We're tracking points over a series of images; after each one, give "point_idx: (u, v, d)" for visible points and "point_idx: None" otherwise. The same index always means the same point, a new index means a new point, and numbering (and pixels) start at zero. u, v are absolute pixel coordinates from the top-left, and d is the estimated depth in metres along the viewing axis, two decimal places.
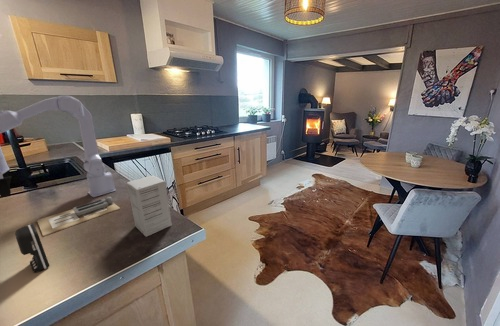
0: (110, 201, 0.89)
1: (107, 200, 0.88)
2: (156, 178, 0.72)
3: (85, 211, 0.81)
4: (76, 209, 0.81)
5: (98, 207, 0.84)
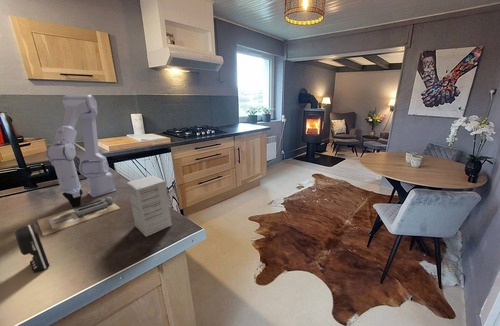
0: (110, 201, 0.89)
1: (107, 200, 0.88)
2: (156, 178, 0.72)
3: (85, 211, 0.81)
4: (76, 209, 0.81)
5: (98, 207, 0.84)
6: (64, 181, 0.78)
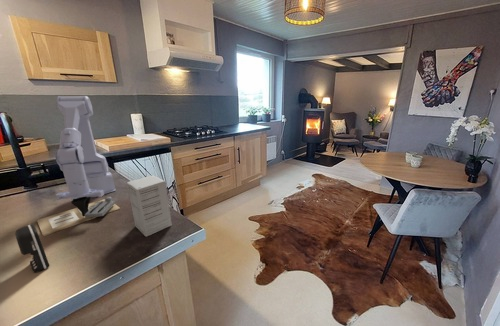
0: None
1: (110, 199, 0.88)
2: (156, 178, 0.72)
3: (105, 210, 0.81)
4: (92, 213, 0.79)
5: (111, 205, 0.85)
6: (82, 185, 0.74)
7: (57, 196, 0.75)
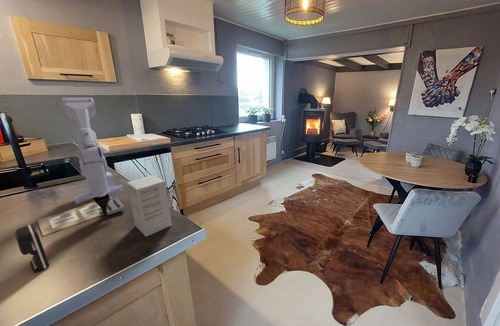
0: None
1: (111, 198, 0.89)
2: (156, 178, 0.72)
3: (123, 205, 0.85)
4: (114, 209, 0.81)
5: (120, 202, 0.88)
6: (106, 182, 0.77)
7: (77, 199, 0.72)
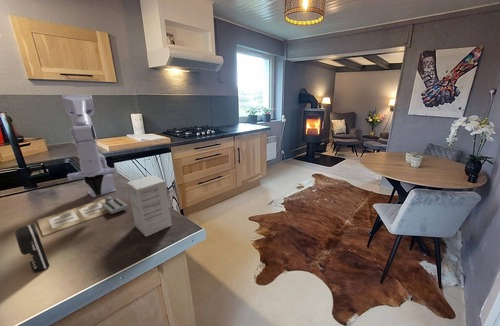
0: None
1: (111, 198, 0.89)
2: (156, 178, 0.72)
3: None
4: (117, 208, 0.82)
5: None
6: (97, 162, 0.75)
7: (69, 176, 0.73)
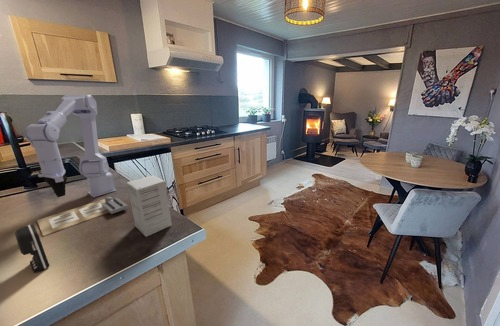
0: None
1: (111, 198, 0.89)
2: (156, 178, 0.72)
3: None
4: (117, 208, 0.82)
5: None
6: (45, 164, 0.70)
7: None
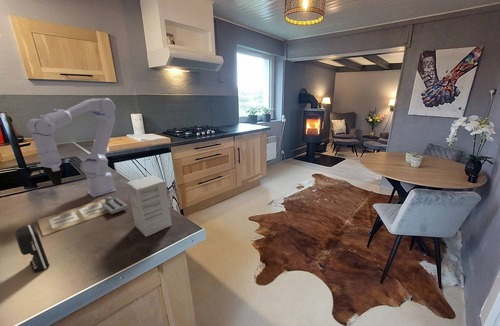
0: None
1: (111, 198, 0.89)
2: (156, 178, 0.72)
3: None
4: (117, 208, 0.82)
5: None
6: (43, 155, 0.78)
7: None
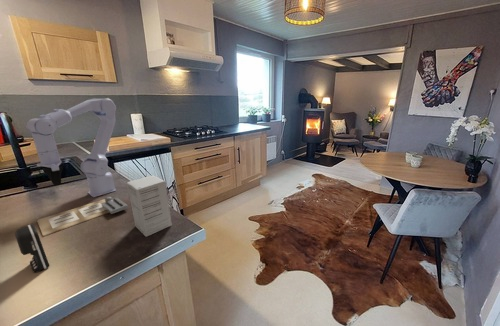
0: None
1: (111, 198, 0.89)
2: (156, 178, 0.72)
3: None
4: (117, 208, 0.82)
5: None
6: (43, 155, 0.78)
7: None
